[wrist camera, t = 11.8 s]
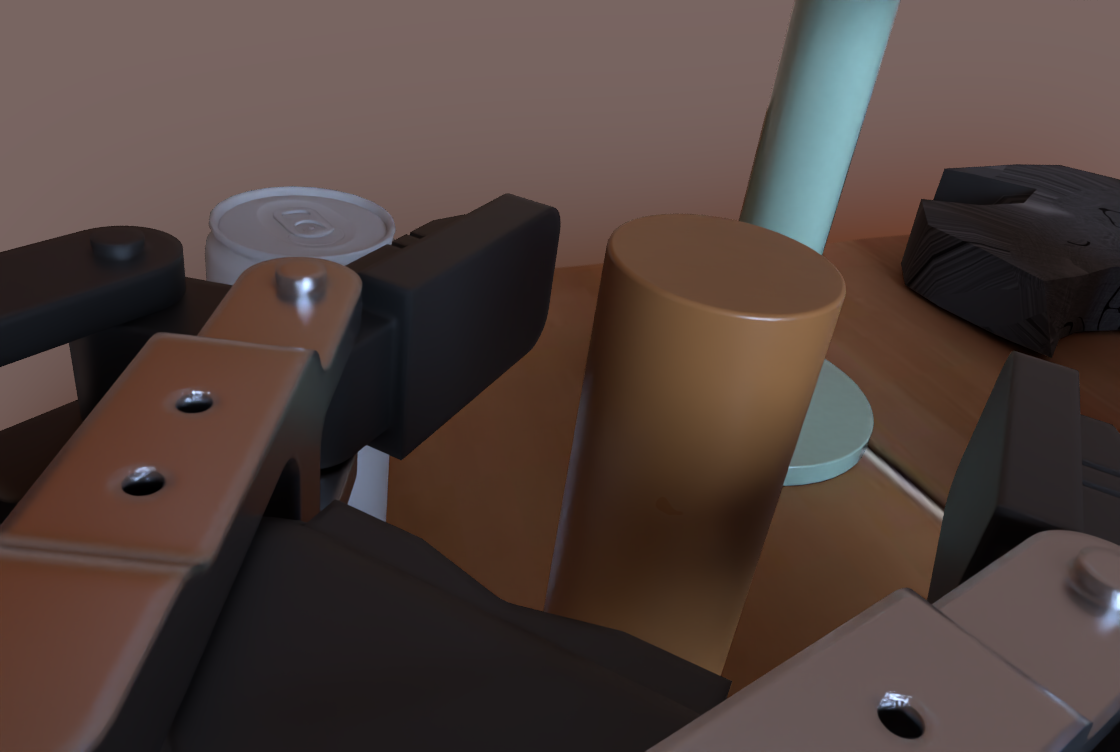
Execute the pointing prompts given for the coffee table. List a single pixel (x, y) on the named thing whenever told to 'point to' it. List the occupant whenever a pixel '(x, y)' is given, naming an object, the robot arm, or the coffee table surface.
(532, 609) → the robot arm
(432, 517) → the coffee table surface
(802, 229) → the cake stand
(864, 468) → the coffee table surface
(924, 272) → the mask
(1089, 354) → the coffee table surface
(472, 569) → the coffee table surface
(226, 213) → the beverage can
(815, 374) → the cake cutter
